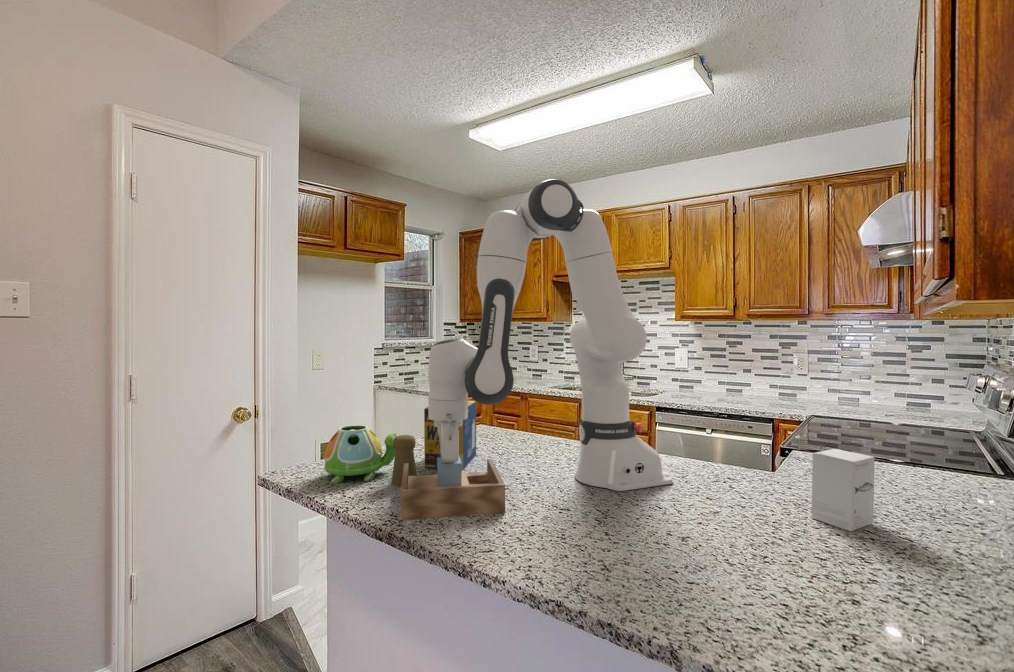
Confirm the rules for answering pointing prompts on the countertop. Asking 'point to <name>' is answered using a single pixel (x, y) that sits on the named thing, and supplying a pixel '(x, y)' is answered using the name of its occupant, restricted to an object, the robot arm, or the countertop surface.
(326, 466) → the turtle holder
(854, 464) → the supplement box
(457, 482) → the slate block
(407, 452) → the cork
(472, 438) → the protein box
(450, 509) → the tray
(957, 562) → the countertop surface
